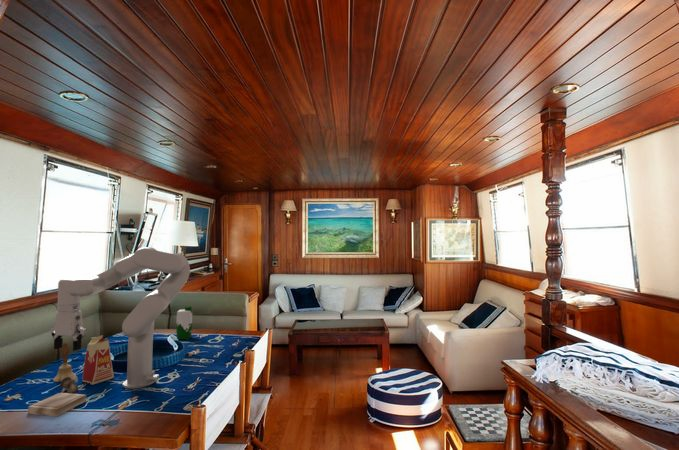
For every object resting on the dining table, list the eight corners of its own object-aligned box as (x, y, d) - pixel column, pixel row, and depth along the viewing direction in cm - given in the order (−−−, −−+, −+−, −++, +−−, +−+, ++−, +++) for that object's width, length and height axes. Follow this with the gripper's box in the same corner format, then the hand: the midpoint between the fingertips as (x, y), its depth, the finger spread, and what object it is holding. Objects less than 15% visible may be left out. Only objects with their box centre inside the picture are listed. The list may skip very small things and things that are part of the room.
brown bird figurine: (51, 389, 145) (54, 391, 139) (63, 371, 149) (66, 373, 143) (70, 395, 149) (74, 398, 143) (81, 378, 153) (85, 379, 147)
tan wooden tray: (85, 401, 137) (86, 394, 137) (56, 416, 125) (56, 408, 125) (59, 399, 139) (59, 392, 139) (27, 413, 127) (28, 406, 127)
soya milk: (190, 339, 224) (191, 307, 225) (175, 340, 222) (175, 308, 223) (192, 336, 233) (193, 305, 234) (177, 337, 230) (178, 306, 231)
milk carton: (114, 377, 161) (115, 333, 162) (92, 385, 153) (94, 338, 154) (101, 374, 165) (102, 331, 166) (80, 381, 157) (81, 335, 158)
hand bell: (63, 382, 156) (64, 345, 156) (48, 381, 157) (49, 344, 158) (80, 375, 164) (81, 340, 164) (65, 374, 165) (67, 339, 166)
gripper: (93, 307, 151) (92, 347, 150) (60, 305, 155) (59, 345, 154) (77, 310, 144) (75, 353, 143) (43, 309, 147) (41, 350, 146)
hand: (67, 349), depth 148 cm, fingers open, 9 cm apart
